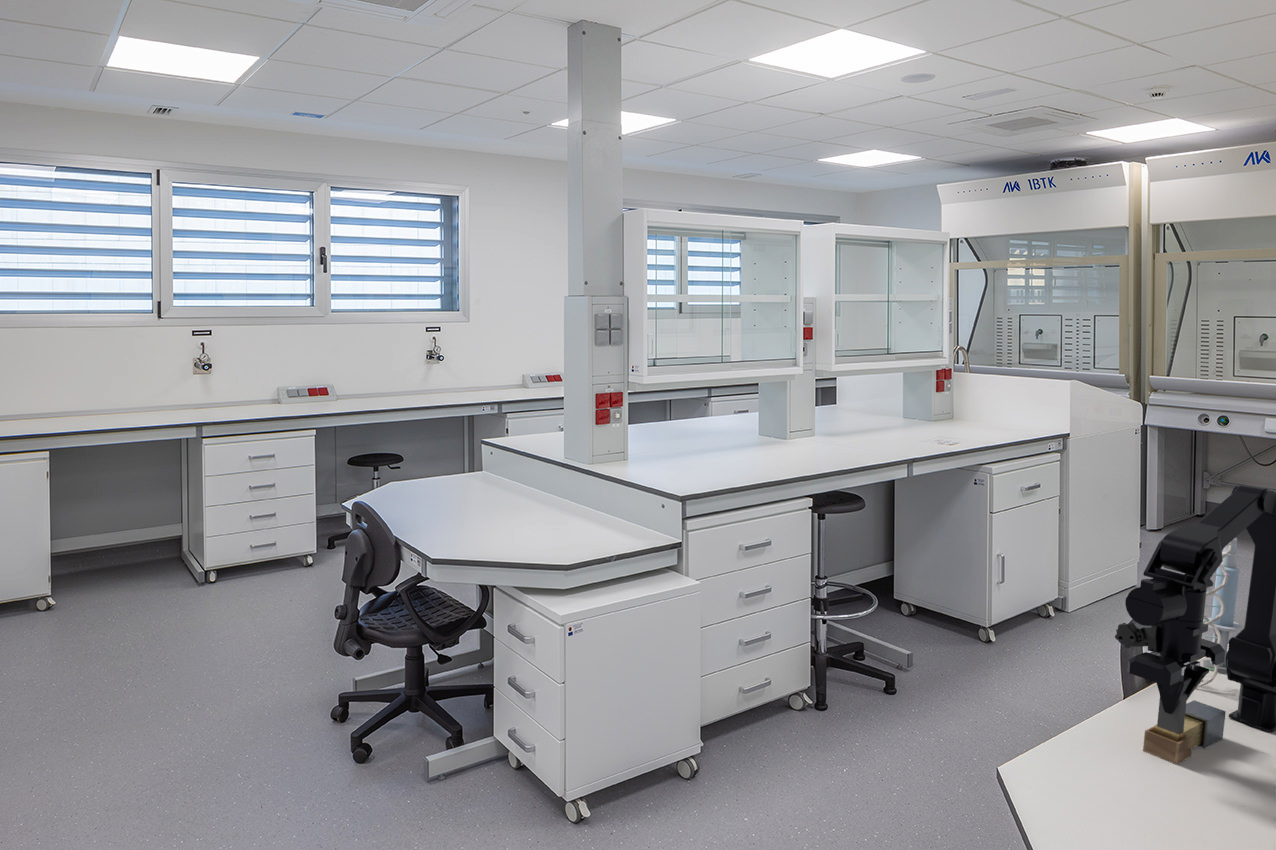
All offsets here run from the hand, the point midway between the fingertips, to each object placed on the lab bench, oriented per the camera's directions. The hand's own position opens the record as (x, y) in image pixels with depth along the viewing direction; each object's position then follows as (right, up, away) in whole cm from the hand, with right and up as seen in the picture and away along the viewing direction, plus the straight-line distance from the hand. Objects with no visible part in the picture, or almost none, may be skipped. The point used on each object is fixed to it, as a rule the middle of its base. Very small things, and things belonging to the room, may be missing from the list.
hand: (1171, 711), depth 135 cm
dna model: (+22, -4, +28) cm, 36 cm away
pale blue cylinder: (+32, -4, +36) cm, 48 cm away
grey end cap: (+8, -7, +6) cm, 12 cm away
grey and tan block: (+3, -6, +3) cm, 7 cm away
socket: (0, -7, +1) cm, 7 cm away
